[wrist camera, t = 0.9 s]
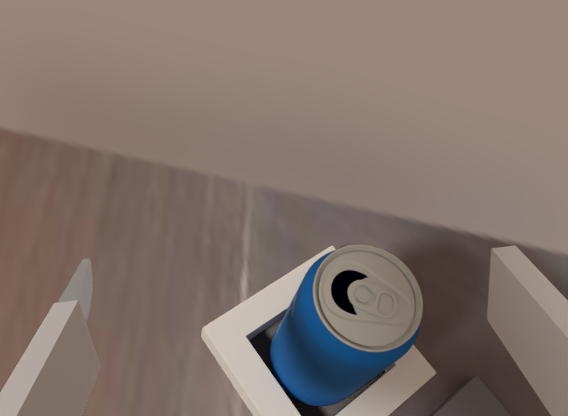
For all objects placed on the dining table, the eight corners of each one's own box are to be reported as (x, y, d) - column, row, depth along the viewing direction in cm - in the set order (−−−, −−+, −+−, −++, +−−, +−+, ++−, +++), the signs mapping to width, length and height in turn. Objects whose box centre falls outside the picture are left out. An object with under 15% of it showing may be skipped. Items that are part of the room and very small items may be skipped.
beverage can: (286, 300, 38) (326, 218, 28) (369, 334, 37) (441, 264, 27) (254, 386, 34) (286, 328, 24) (346, 423, 34) (417, 382, 24)
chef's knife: (132, 257, 38) (93, 243, 38) (132, 250, 37) (91, 235, 37) (-22, 563, 27) (-77, 545, 27) (-28, 564, 27) (-86, 546, 26)
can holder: (201, 337, 35) (202, 327, 34) (325, 256, 40) (332, 245, 38) (301, 488, 32) (308, 486, 30) (424, 379, 36) (436, 372, 35)
